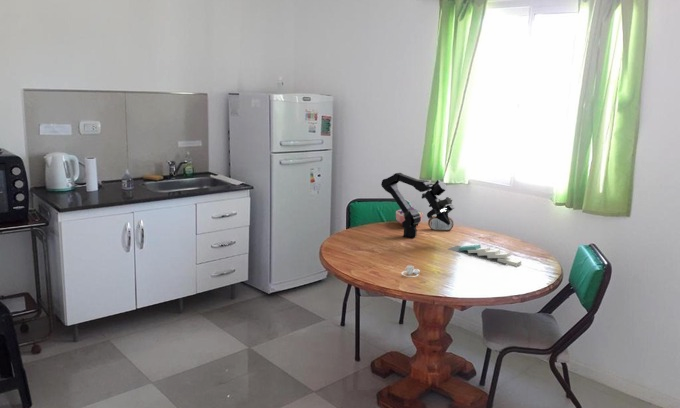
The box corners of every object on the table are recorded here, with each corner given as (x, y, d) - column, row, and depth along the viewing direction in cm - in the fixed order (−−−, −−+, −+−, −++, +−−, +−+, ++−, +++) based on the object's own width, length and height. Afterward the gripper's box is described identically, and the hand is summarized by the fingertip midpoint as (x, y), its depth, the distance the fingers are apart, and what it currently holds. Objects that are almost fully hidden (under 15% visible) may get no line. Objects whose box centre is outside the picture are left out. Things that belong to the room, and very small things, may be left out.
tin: (452, 230, 317) (453, 216, 315) (453, 231, 314) (454, 218, 312) (427, 228, 319) (428, 215, 317) (427, 230, 316) (428, 216, 314)
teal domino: (458, 247, 275) (475, 246, 267) (463, 245, 278) (480, 244, 271) (459, 250, 275) (475, 249, 267) (464, 248, 278) (480, 247, 271)
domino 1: (467, 250, 271) (484, 249, 264) (472, 248, 274) (489, 247, 267) (468, 253, 271) (485, 252, 264) (473, 251, 274) (490, 250, 267)
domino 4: (497, 258, 259) (516, 263, 253) (502, 256, 263) (521, 260, 256) (497, 261, 260) (516, 266, 253) (502, 259, 263) (521, 264, 256)
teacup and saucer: (418, 272, 243) (419, 263, 242) (421, 278, 235) (422, 269, 234) (399, 271, 243) (400, 263, 242) (402, 277, 235) (403, 269, 234)
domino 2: (477, 252, 267) (495, 251, 260) (482, 250, 271) (499, 249, 263) (477, 255, 267) (495, 254, 260) (482, 253, 271) (500, 252, 263)
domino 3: (487, 255, 263) (505, 254, 256) (492, 253, 267) (510, 252, 260) (487, 258, 263) (505, 257, 256) (492, 256, 267) (510, 255, 260)
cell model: (390, 227, 318) (391, 209, 316) (399, 220, 337) (400, 203, 334) (418, 231, 312) (419, 212, 310) (425, 223, 331) (426, 206, 328)
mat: (446, 249, 277) (447, 249, 277) (457, 246, 284) (457, 245, 284) (504, 265, 254) (504, 264, 254) (514, 261, 261) (514, 260, 261)
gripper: (433, 194, 273) (449, 219, 268) (452, 190, 286) (468, 213, 281) (419, 206, 280) (435, 230, 275) (439, 201, 293) (454, 224, 288)
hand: (449, 224), depth 280 cm, fingers closed
